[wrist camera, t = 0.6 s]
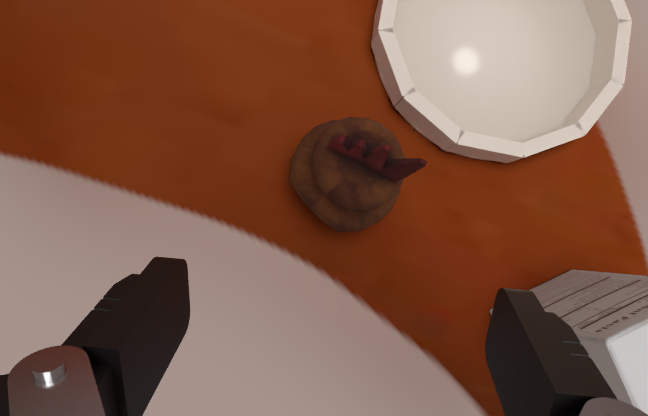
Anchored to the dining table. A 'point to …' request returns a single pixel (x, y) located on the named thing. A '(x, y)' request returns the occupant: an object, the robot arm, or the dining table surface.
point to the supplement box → (606, 325)
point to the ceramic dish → (501, 70)
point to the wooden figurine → (350, 172)
